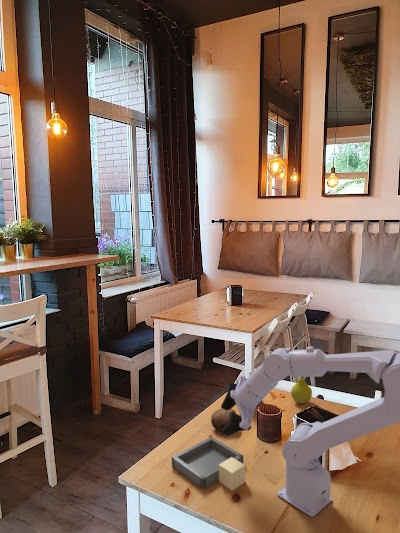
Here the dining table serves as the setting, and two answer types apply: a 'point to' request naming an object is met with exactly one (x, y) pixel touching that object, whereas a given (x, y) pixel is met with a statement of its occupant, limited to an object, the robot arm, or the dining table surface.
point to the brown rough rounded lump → (220, 418)
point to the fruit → (301, 392)
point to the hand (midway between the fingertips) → (224, 420)
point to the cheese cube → (231, 473)
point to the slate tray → (204, 461)
